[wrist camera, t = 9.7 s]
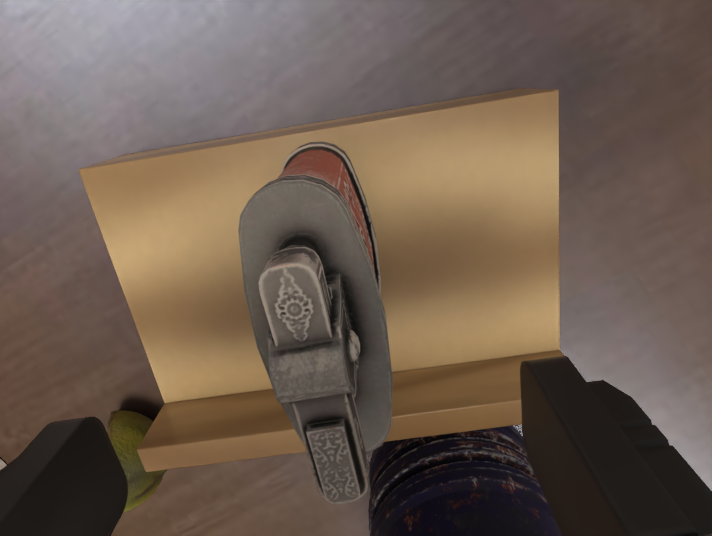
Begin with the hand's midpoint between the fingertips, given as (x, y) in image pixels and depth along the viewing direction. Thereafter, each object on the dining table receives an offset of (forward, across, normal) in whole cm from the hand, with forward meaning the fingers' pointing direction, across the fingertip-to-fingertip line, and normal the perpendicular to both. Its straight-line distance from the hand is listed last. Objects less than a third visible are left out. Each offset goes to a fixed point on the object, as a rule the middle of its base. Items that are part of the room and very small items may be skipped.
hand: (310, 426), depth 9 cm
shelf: (+15, 0, +2) cm, 15 cm away
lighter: (+11, 0, 0) cm, 11 cm away
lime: (+15, +13, +11) cm, 22 cm away
